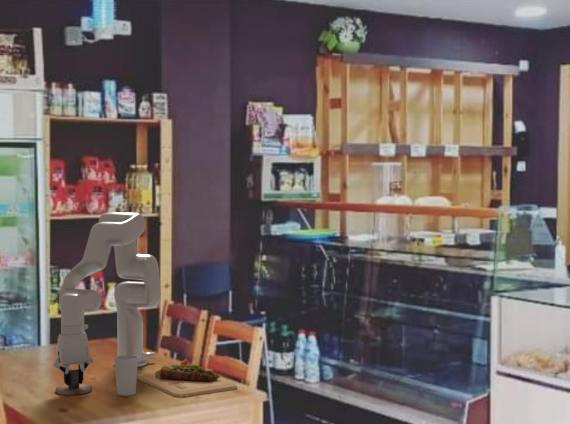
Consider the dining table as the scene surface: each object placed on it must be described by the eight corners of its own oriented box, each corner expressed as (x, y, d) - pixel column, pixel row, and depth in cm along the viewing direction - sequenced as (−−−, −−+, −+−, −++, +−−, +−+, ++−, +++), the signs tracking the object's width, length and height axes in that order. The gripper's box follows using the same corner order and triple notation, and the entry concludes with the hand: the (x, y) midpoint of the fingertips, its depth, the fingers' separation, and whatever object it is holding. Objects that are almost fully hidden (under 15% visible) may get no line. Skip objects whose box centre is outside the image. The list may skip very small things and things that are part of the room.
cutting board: (134, 378, 330) (134, 358, 329) (192, 370, 342) (192, 350, 342) (177, 400, 300) (177, 377, 300) (240, 390, 313) (239, 368, 312)
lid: (84, 384, 318) (84, 364, 317) (97, 391, 308) (97, 371, 307) (50, 389, 311) (50, 368, 311) (62, 397, 301) (62, 376, 301)
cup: (142, 391, 309) (142, 355, 308) (131, 396, 302) (130, 360, 301) (121, 389, 312) (121, 354, 311) (109, 394, 304) (109, 359, 304)
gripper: (92, 325, 316) (93, 378, 317) (45, 330, 307) (46, 385, 308) (100, 329, 310) (101, 383, 311) (52, 334, 301) (53, 389, 302)
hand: (73, 383), depth 309 cm, fingers closed on lid, 3 cm apart
